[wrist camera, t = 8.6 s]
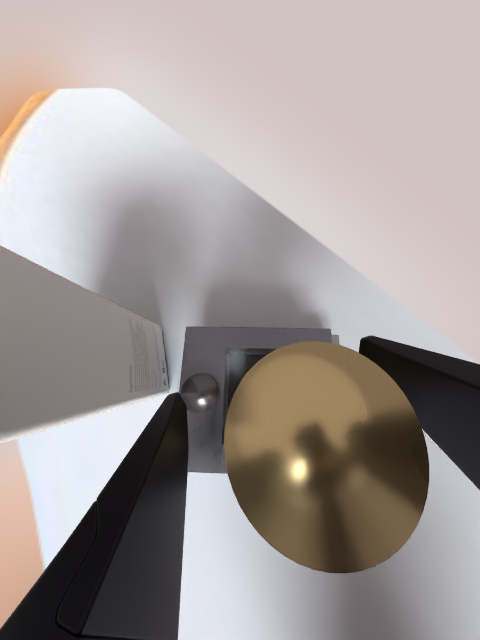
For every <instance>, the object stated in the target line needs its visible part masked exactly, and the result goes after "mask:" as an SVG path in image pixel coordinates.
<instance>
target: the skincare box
mask: <svg viewBox="0 0 480 640" xmlns="http://www.w3.org/2000/svg"><path fill="white" fill-rule="evenodd" d="M168 392H169V385H168V377H167V369H166V361H165V353H164V345H163V337H162V329H161V326H159V325H157V324H155V323H153V322H151V321H149V320H147V319H145V318H143V317H141V316H139V315H137V314H135V313H133V312H131V311H129V310H127V309H125V308H123V307H121V306H119V305H117V304H115V303H113V302H111V301H110V300H107V299H105V298H103V297H101V296H99V295H97V294H95V293H93V292H91V291H89V290H87V289H85V288H83V287H81V286H79V285H77V284H75V283H73V282H72V281H70V280H68V279H66V278H64V277H62V276H60V275H57V274H55V273H53V272H51V271H49V270H48V269H46V268H44V267H42V266H40V265H38V264H36V263H34V262H31V261H30V260H28V259H26V258H24V257H22V256H20V255H18V254H16V253H14V252H12V251H10V250H8V249H6V248H4V247H2V246H0V443H3V442H6V441H10V440H13V439H17V438H20V437H24V436H27V435H30V434H34V433H37V432H41V431H44V430H47V429H51V428H54V427H58V426H61V425H64V424H68V423H71V422H74V421H78V420H81V419H85V418H88V417H91V416H95V415H98V414H101V413H105V412H108V411H112V410H115V409H118V408H121V407H124V406H128V405H131V404H134V403H137V402H141V401H144V400H148V399H151V398H154V397H157V396H161V395H164V394H167V393H168Z"/></svg>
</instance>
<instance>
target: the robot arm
mask: <svg viewBox="0 0 480 640" xmlns="http://www.w3.org/2000/svg"><path fill="white" fill-rule="evenodd" d="M359 353H360V354H361V355H363V356H365V357H367V358H368V359H370V360H371V361H373V362H374V363H375V364H377V365H378V366H379V367H380V368H381V369H383V370H384V371H385V372H386V373H387V374H388V375H389V376H390V377H391V378H392V379H393V380H394V381H395V382H396V384H397V385H398V386H399V388H400V389H401V390H402V391H403V393H404V394H405V396H406V397H407V399H408V401H409V402H410V404H411V405H412V407H413V409H414V412H415V414H416V416H417V418H418V420H419V423H420V425H421V428H422V429H423V430H424V431H425V432H426V433H427V434H428V435H429V437H430V438H431V439H432V440H433V441H434V442H435V443H436V444H437V445H438V446H439V447H440V448H441V449H442V450H443V451H444V453H445V454H446V455H447V456H448V457H449V458H450V459H451V460H452V461H453V462H454V463H455V464H456V465H457V466H458V467H459V468H460V470H461V471H462V472H463V473H464V474H465V475H466V476H467V477H468V478H469V479H470V480H471V481H472V482H473V483H474V484H475V486H476V487H477V488H478V489H479V490H480V364H476V363H472V362H469V361H465V360H461V359H458V358H454V357H450V356H446V355H443V354H439V353H435V352H431V351H428V350H424V349H420V348H416V347H413V346H409V345H405V344H402V343H398V342H394V341H390V340H387V339H383V338H379V337H375V336H367V337H364V338H362V339H361V340H360V347H359ZM188 455H189V442H188V420H187V407H186V404H185V402H184V400H183V399H182V397H181V395H180V393H178V392H176V393H173V394H169V395H168V396H167V397H166V399H165V400H164V401H163V403H162V404H161V406H160V407H159V409H158V410H157V412H156V413H155V415H154V416H153V417H152V419H151V420H150V422H149V423H148V425H147V426H146V428H145V429H144V430H143V432H142V433H141V435H140V436H139V438H138V439H137V441H136V442H135V443H134V445H133V446H132V448H131V449H130V451H129V452H128V454H127V455H126V457H125V458H124V459H123V461H122V462H121V464H120V465H119V467H118V468H117V470H116V471H115V472H114V474H113V475H112V477H111V478H110V480H109V481H108V483H107V484H106V486H105V487H104V488H103V490H102V491H101V493H100V494H99V496H98V497H97V501H95V502H94V503H93V504H92V506H91V507H90V509H89V510H88V511H87V513H86V514H85V516H84V517H83V519H82V520H81V522H80V523H79V524H78V526H77V527H76V529H75V530H74V531H73V533H72V534H71V536H70V537H69V538H68V540H67V541H66V543H65V544H64V545H63V547H62V548H61V549H60V551H59V552H58V554H57V555H56V556H55V558H54V559H53V560H52V562H51V563H50V564H49V566H48V567H47V568H46V570H45V571H44V572H43V574H42V575H41V576H40V578H39V579H38V580H37V582H36V583H35V584H34V586H33V587H32V588H31V589H30V591H29V592H28V593H27V595H26V596H25V597H24V599H23V600H22V601H21V603H20V604H19V605H18V606H17V608H16V609H15V611H14V612H13V613H12V614H11V616H10V617H9V618H8V620H7V621H6V622H5V624H4V625H3V626H2V627H1V629H0V640H178V626H179V609H180V592H181V575H182V558H183V541H184V524H185V506H186V489H187V472H188Z"/></svg>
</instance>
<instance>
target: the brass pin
mask: <svg viewBox="0 0 480 640" xmlns="http://www.w3.org/2000/svg"><path fill="white" fill-rule="evenodd" d="M224 451H225V461H226V466H227V471H228V476H229V479H230V482H231V485H232V489H233V492H234V494H235V496H236V498H237V500H238V503H239V505H240V507H241V508H242V510H243V512H244V513H245V515H246V517H247V518H248V520H249V521H250V523H251V524H252V525H253V527H254V528H255V529H256V530H257V532H258V533H259V534H260V535H261V536H262V537H263V538H264V539H265V540H266V541H267V542H268V543H269V544H270V545H271V546H272V547H273V548H275V549H276V550H277V551H279V552H280V553H281V554H283V555H284V556H286V557H287V558H289V559H291V560H293V561H295V562H296V563H298V564H300V565H303V566H306V567H308V568H311V569H314V570H318V571H323V572H328V573H351V572H358V571H362V570H365V569H368V568H371V567H374V566H376V565H378V564H380V563H381V562H383V561H385V560H387V559H388V558H390V557H391V556H392V555H393V554H394V553H396V552H397V551H398V550H399V549H400V548H401V547H402V546H403V545H404V544H405V542H406V541H407V540H408V539H409V538H410V536H411V534H412V533H413V531H414V530H415V528H416V526H417V524H418V522H419V520H420V517H421V515H422V513H423V510H424V506H425V502H426V498H427V493H428V485H429V460H428V452H427V446H426V442H425V438H424V434H423V431H422V428H421V425H420V423H419V420H418V418H417V416H416V414H415V412H414V409H413V407H412V405H411V404H410V402H409V401H408V399H407V397H406V396H405V394H404V393H403V391H402V390H401V389H400V388H399V386H398V385H397V384H396V382H395V381H394V380H393V379H392V378H391V377H390V376H389V375H388V374H387V373H386V372H385V371H384V370H383V369H381V368H380V367H379V366H378V365H377V364H375V363H374V362H373V361H371V360H370V359H368V358H367V357H365V356H363V355H361V354H360V353H358V352H356V351H354V350H351V349H349V348H346V347H344V346H341V345H337V344H333V343H327V342H320V341H307V342H299V343H294V344H290V345H286V346H284V347H281V348H279V349H276V350H274V351H273V352H271V353H269V354H267V355H266V356H264V357H263V358H262V359H261V360H259V361H258V362H257V363H256V364H255V365H254V366H253V367H252V368H251V369H250V370H249V371H248V372H247V373H246V375H245V376H244V377H243V379H242V380H241V382H240V384H239V385H238V387H237V389H236V391H235V393H234V395H233V398H232V400H231V403H230V406H229V410H228V413H227V417H226V424H225V431H224Z"/></svg>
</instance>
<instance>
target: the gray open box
mask: <svg viewBox="0 0 480 640" xmlns="http://www.w3.org/2000/svg"><path fill="white" fill-rule="evenodd" d="M307 341H320V342H327V343H333V344H337V345H340V344H339V336H338V335H331V329H305V328H245V327H186V333H185V342H184V351H183V361H182V370H181V379H180V388H179V393H180V395H181V397H182V399H183V400H184V402H185V404H186V407H187V420H188V442H189V455H188V472H202V473H227V474H228V471H227V466H226V461H225V451H224V431H225V424H226V417H227V413H228V395H229V368H230V354H260V355H267V354H269V353H271V352H273V351H274V350H276V349H279V348H281V347H284V346H286V345H290V344H294V343H299V342H307Z"/></svg>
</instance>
